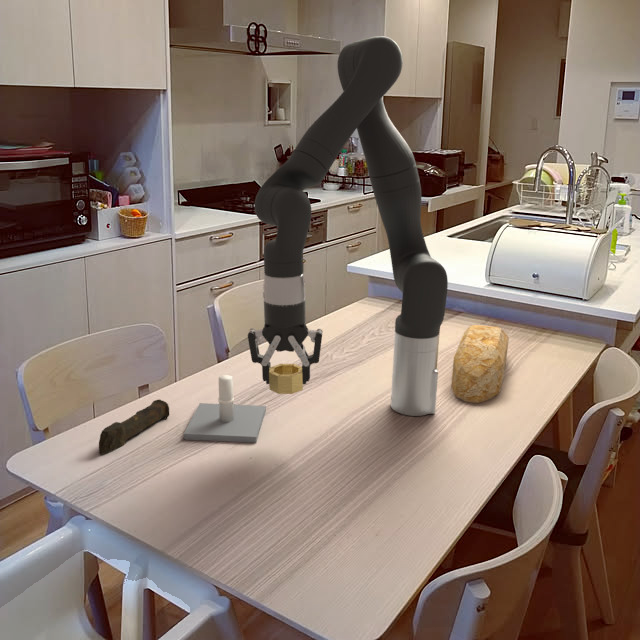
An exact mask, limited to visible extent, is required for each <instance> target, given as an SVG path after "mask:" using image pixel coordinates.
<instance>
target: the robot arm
mask: <svg viewBox="0 0 640 640" xmlns="http://www.w3.org/2000/svg"><path fill="white" fill-rule="evenodd" d="M403 61H404V60H403V55H402V51H401V48H400V47H399V45H398V44H397V42H396V41H395V40H394V39H392V38H390V37H389V36H385V35H382V36H381V35H377V36H371V37H368V38H364V39H360V40H356V41H353V42H351V43H347V44H346V45H345V46H344V47H343V48H341V51H340V52H339V55H338V59H337V66H336V67H337V73H338V78H339V82H340V85H341V88H342V93H341V94H340V95H339V97H337V99H336V100H335V101H334V102H333V103H332V104H330V105H329V107H328V108H327V109H326V110H325V111H324V112H323V113H322V114H321V115H319V116H318V118H317V119H316V120H314V122H313V123H312V124H311V125H309V127H308V129H307V130H306V131H305V133H304V134H303V135H302V137H301V138H300V140H299V142H298V144H297V145H296V146H295V148H294V149H293V151H292V153H291V154H290V156H289V158H288V159H287V160H286V161H285V162H284V163H283V164H282V165H281V166H279V167H278V168H277V169H276V171H274V172H273V174H271V175H270V177H268V178H267V180H266V181H265V182H263V184H262V185H261V187H260V188H259V190H258V192H257V194H256V196H255V198H254V199H255V200H254V213H255V216H256V217H257V218H258V220H260V221H261V222H262V223H264V224H267V225H269V226H275V227H277V232H276V237H275V239H271V240H269V241H268V242H266V243H265V245H264V248H263V269H264V271H263V272H264V273H263V275H264V276H263V277H264V278H263V279H264V280H263V291H262V297H263V314H264V316H263V319H264V326H263V328H262V329H255V328H250V329H249V331H248V334H247V340H248V346H249V351H250V358H251V361H252V363H254V364H256V363H257V364H260V365H261V370H262V371H261V373H262V376H261V377H262V381H263V382H265V384H266V385H269V372H270V368H271V367H272V364H271V362H270V361H271V359H272V357H273V355H274V353H275V351H276V352H285V351H286V352H290V353H291V352H295V354H296V355H297V357H298V358H299V360H300V361H301V364H302V365H301V367H302V376H303V385H307V382H310V380H311V365H313V364H318V363H319V362H320V356H321V349H322V348H321V347H322V340H323V329H321V328H317V329H316V330H314V329H309V328H308V326H307V323H306V318H307V317H306V283H305V276H304V272H305V271H304V249H305V245H306V242H307V237H308V233H309V229H310V226H311V225H310V224H311V222H312V205H311V201H310V199H309V197H308V194H307V193H306V192H305V191H304V190H306V189H310V188H313V187H317V186H318V185H320V183H322V181H323V180H324V178H325V177H326V175H327V174H328V173H329V170H330V169H331V167H332V166H333V164H334V163H335V161H336V159H337V157H338V156H339V154H340V153H341V151H343V150H342V149H343V148H344V147H345V146H346V143H348V141H349V139H350V138H351V136H352V135H353V134H354V132H355V131H356V130H357V134H358V138H359V142H360V145H361V148H362V151H363V155H364V159H365V162H366V167H367V172H368V176H369V181H370V184H371V188H372V191H373V193H372V194H373V195H374V198H375V202H376V206H377V209H378V213H379V215H380V219H381V221H382V224H383V227H384V231H385V233H386V237H387V242H388V247H389V255H390V262H391V268H392V275H393V280H394V282H395V285H396V287H397V288H398V290H399V291H400V292H401V293H402V299H401V311H400V314H399V315H397V317H396V318H395V322H394V337H393V338H394V339H393V340H394V341H393V357H392V373H391V374H392V375H391V393H390V394H391V395H390V407H391V409H392V410H393V411H395V412H396V413H399V414H401V415H404V416H411V417H419V416H420V417H421V416H427V415H428V414H436V406H437V405H436V404H437V392H438V380H439V371H438V358H439V345H440V333H441V332H440V330H441V326H442V324H443V322H444V319H445V313H446V304H447V295H448V287H449V286H448V285H449V281H448V274H447V271H446V269H445V267H444V266H443V265H442V264H441V263H440V262H438V261H437V260H435V258H432V256H431V254H430V251H429V249H428V246H427V243H426V240H425V236H424V233H423V228H422V223H421V222H422V221H421V214H422V213H421V212H422V187H421V182H420V176H419V170H418V167H417V164H416V160H415V156H414V154H413V152H412V149H411V147H410V146H409V144H408V142H406V140H405V138H404V137H403V136H402V135H401V133H400V132H399V130H398V128H396V127H395V124H394V123H393V122H392V120H391V119H390V117H389V115H388V112H387V110H386V107H385V104H384V100H383V97H384V96H385V95H386V94H387V93H388V91H389V90H390V89H391V88H392V87H393V86H394V85H395V83H396V82H397V81H398V79H399V77H400V75H401V73H402V70H403V64H404V63H403ZM262 337H263V338H264V339H265V340H266V342H267V343H268V344H269V345H268V347H267V349H266V351H265V352H264V354H260V349H259V343H258V342H260V340H261V338H262ZM308 337H309V338H310V341H311V343H313V344H314V345H313V352H312V353H313V354H310V355H309V354H308V352H307V350H306V346H305V345H304V341H305V340H306V339H307V338H308Z"/></svg>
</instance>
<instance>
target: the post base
mask: <svg viewBox="0 0 640 640" xmlns="http://www.w3.org/2000/svg"><path fill="white" fill-rule="evenodd" d="M233 378H234V376H232V375H230V374H223V375H219V376H218V403H208V402H207V403H205V402H204V403H203V402H201V403H199V404H198V406H197V407H196V410H195V412H194V413H193V415H192V417H191V419H190V421H189V423H188V425H187V427H186V429H185V431H184V433H183V440H189V441H190V440H191V441H192V440H193V441H210V442H211V441H215V442H232V443H233V442H234V443H236V442H239V443H257V441H258V438H259V435H260V432H261V429H262V424H263V423H264V422H263V421H264V418H265V415H266V411H267V407H266V405H255V404H254V405H252V404H251V405H249V404H234V402H235V399H234V398H235V397H234V379H233Z"/></svg>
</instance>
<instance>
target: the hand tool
mask: <svg viewBox="0 0 640 640" xmlns="http://www.w3.org/2000/svg"><path fill="white" fill-rule="evenodd" d="M169 416H170V405H169V403H168V402H167V401H164V400H161V399H156V400H153V401H152V402H151V404H150V405H148V406H146V407H144V408H143V409H141V410H140V409H139V410H138V411H136V412H135V414H133V415H131V416H130V417H129V418H127V419H125V420H124V421H122V422H118V421H115V422H113V423H112V424H110V425H108V426H106V427H105V428H103V430H101V433H100V434H99V440H98V453H99V454H98V455H105V454H108V453H110V452H113V451H115V450H117V449H119V448H121V447H124V446H125V444H126V442H127V440H129V439H130V438H132V437H134V436H136V435H137V434H139V433H141V432H142V431H144V430H145V429H147V428H148V427H150V426H152V425H153V424H155V423H156V422H159V421H160V420H161V419H168V418H169Z"/></svg>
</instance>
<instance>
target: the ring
mask: <svg viewBox="0 0 640 640" xmlns="http://www.w3.org/2000/svg"><path fill="white" fill-rule="evenodd" d="M268 385H269V387H268V388H269V390H270V391H272V392H274V393H276V394H278V395H293V394H295V393H296V394H297V393H298V392H301V391H303V389H304V384H303V376H302V365H298V364H296V363H279V364H276V365H275V364H274V365H273V366H272V365H271V368H270V372H269V384H268Z"/></svg>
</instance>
